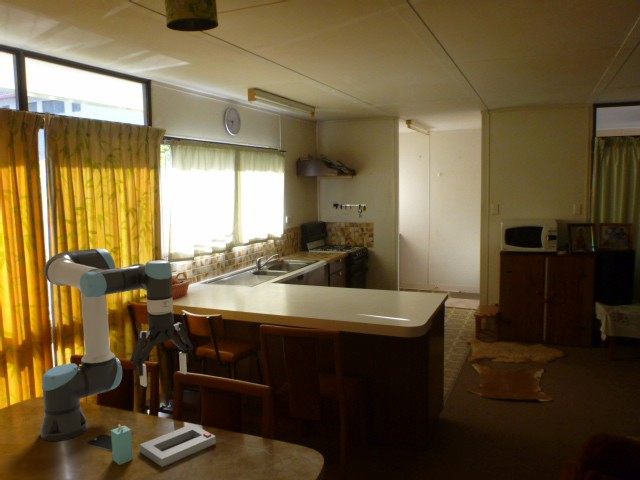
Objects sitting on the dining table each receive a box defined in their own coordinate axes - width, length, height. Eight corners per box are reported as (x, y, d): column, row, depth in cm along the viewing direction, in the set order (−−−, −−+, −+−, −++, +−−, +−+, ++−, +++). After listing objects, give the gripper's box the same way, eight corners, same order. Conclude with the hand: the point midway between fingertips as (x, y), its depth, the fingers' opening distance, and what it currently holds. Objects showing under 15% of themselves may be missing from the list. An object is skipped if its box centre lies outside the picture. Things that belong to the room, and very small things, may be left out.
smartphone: (102, 433, 187) (134, 441, 181) (102, 435, 187) (134, 443, 181) (84, 443, 180) (117, 451, 174) (84, 445, 180) (117, 453, 174)
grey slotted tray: (140, 452, 174) (139, 442, 174) (192, 431, 188) (192, 422, 188) (162, 467, 164) (161, 457, 164) (215, 444, 179) (215, 434, 178)
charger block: (112, 460, 170) (110, 426, 168) (126, 454, 173) (124, 421, 172) (119, 464, 166) (117, 430, 165) (132, 459, 170) (130, 425, 168)
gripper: (127, 321, 149) (131, 394, 151) (202, 306, 167) (205, 370, 169) (115, 317, 154) (119, 387, 157) (189, 302, 172) (192, 365, 174)
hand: (164, 379), depth 163 cm, fingers open, 13 cm apart
